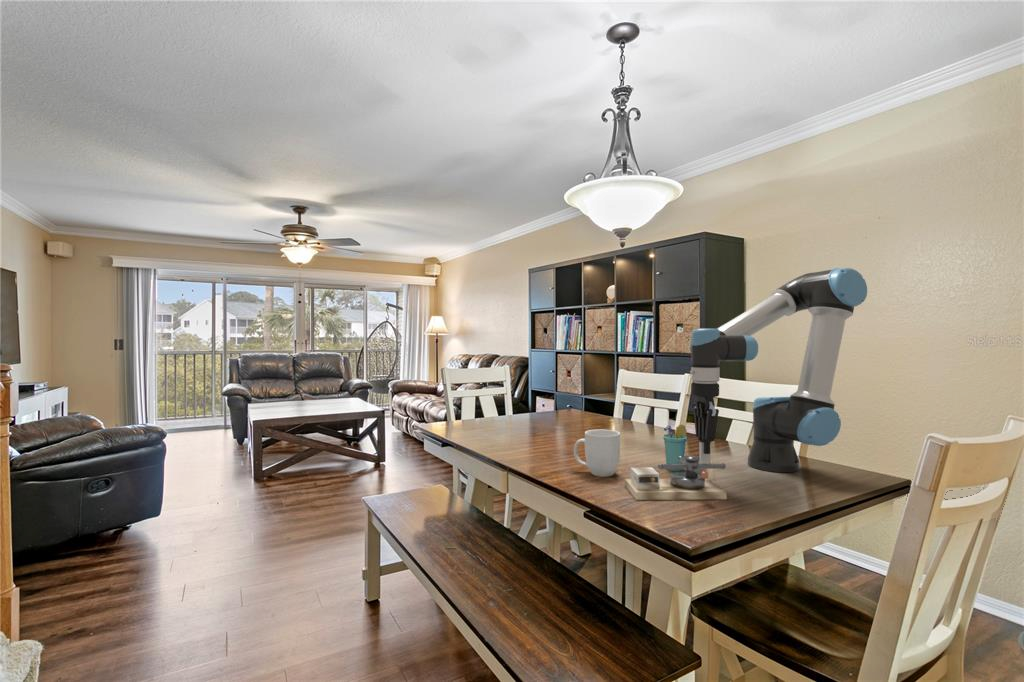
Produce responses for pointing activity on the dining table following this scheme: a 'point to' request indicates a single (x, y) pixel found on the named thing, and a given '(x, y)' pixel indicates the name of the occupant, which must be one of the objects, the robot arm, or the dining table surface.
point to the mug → (600, 451)
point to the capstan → (690, 472)
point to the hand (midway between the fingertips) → (704, 464)
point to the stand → (667, 487)
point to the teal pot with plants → (675, 445)
